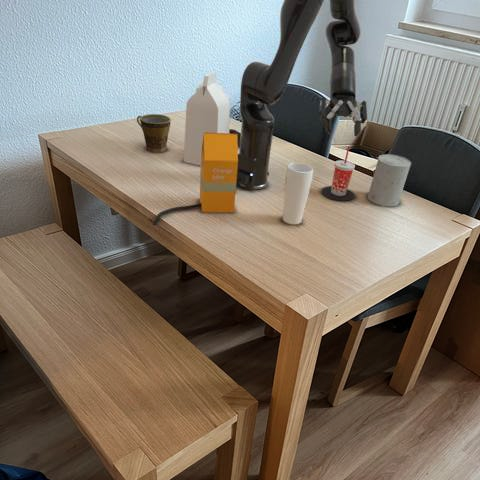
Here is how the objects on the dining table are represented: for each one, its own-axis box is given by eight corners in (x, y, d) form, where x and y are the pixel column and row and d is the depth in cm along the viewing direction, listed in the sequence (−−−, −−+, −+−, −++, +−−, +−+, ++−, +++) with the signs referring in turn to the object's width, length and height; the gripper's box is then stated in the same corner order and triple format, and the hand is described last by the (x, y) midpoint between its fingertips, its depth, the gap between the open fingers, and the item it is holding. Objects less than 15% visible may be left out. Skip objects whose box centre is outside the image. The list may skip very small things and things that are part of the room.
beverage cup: (349, 197, 144) (361, 151, 135) (329, 195, 144) (339, 149, 135) (346, 189, 149) (357, 144, 140) (327, 187, 149) (336, 142, 140)
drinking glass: (306, 218, 132) (316, 165, 122) (300, 229, 127) (310, 174, 117) (283, 213, 133) (291, 160, 124) (276, 223, 128) (284, 169, 119)
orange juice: (233, 212, 131) (240, 139, 118) (201, 212, 129) (204, 137, 117) (229, 199, 137) (235, 128, 124) (199, 199, 135) (201, 127, 122)
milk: (216, 168, 154) (221, 81, 137) (183, 161, 156) (184, 74, 140) (228, 157, 163) (234, 73, 146) (197, 150, 165) (200, 67, 149)
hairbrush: (233, 122, 183) (272, 141, 167) (233, 132, 185) (271, 151, 169) (215, 125, 179) (252, 143, 163) (215, 135, 182) (252, 154, 165)
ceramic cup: (176, 149, 164) (176, 119, 158) (157, 156, 157) (157, 125, 151) (148, 139, 169) (146, 110, 163) (128, 146, 162) (126, 116, 156)
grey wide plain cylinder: (363, 192, 149) (374, 153, 142) (392, 193, 150) (404, 155, 143) (372, 205, 142) (384, 165, 134) (403, 207, 143) (416, 167, 135)
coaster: (345, 204, 141) (345, 203, 141) (315, 193, 145) (316, 192, 145) (359, 194, 148) (359, 193, 147) (331, 184, 152) (331, 183, 152)
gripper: (323, 73, 140) (323, 126, 139) (370, 77, 142) (370, 129, 140) (316, 88, 148) (316, 138, 146) (361, 92, 149) (361, 141, 147)
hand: (343, 134), depth 143 cm, fingers open, 8 cm apart
